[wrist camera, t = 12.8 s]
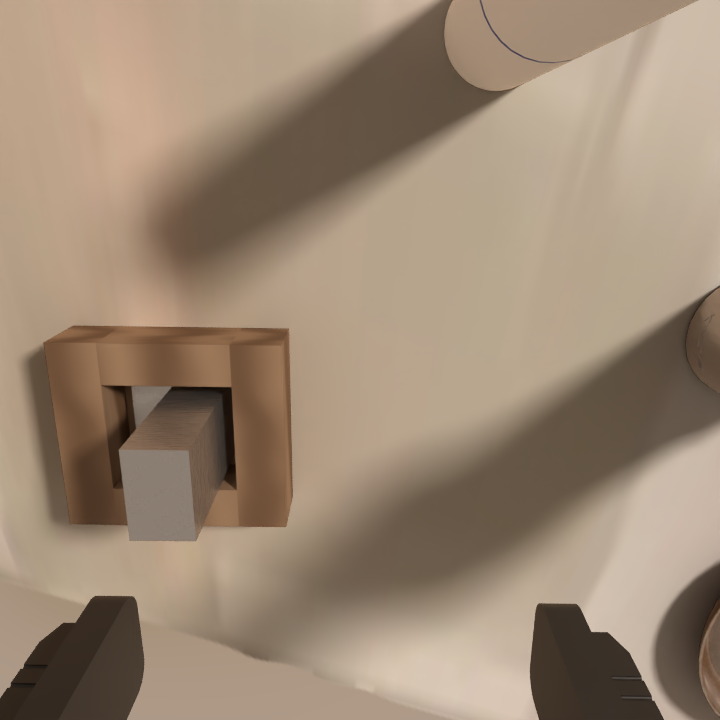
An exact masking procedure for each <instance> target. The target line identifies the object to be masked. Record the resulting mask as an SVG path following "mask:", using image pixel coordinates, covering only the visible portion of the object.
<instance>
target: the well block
mask: <svg viewBox="0 0 720 720" xmlns="http://www.w3.org/2000/svg"><path fill="white" fill-rule="evenodd" d="M44 349H45V355H46V362H47V369H48V376H49V382H50V389H51V396H52V403H53V410H54V416H55V423H56V430H57V437H58V443H59V450H60V457H61V464H62V471H63V477H64V484H65V491H66V498H67V504H68V511H69V518H70V524H102V525H128V523H127V514H126V506H125V498H124V490H123V481H122V473H121V465H120V457H119V449H120V448H121V447H122V445H123V444H124V443H125V442H126V441H127V439H128V438H129V437H130V436H131V435H132V434H133V432H134V431H135V430H136V424H135V415H134V406H133V397H132V388H131V386H188V387H231V390H232V407H233V424H234V443H235V454H234V456H233V458H232V461H231V463H230V465H229V467H228V470H227V472H226V474H225V477H224V479H223V481H222V483H221V486H220V488H219V490H218V492H217V495H216V497H215V499H214V502H213V504H212V506H211V508H210V511H209V513H208V515H207V518H206V520H205V522H204V524H203V526H245V527H286V525H287V521H288V516H289V511H290V506H291V502H292V497H293V488H292V444H291V400H290V356H289V329H272V328H199V327H127V326H72V327H70V328H68V329H67V330H65V331H63V332H61V333H60V334H58V335H56V336H54V337H53V338H51V339H49V340H47V341H46V342H44Z"/></svg>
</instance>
